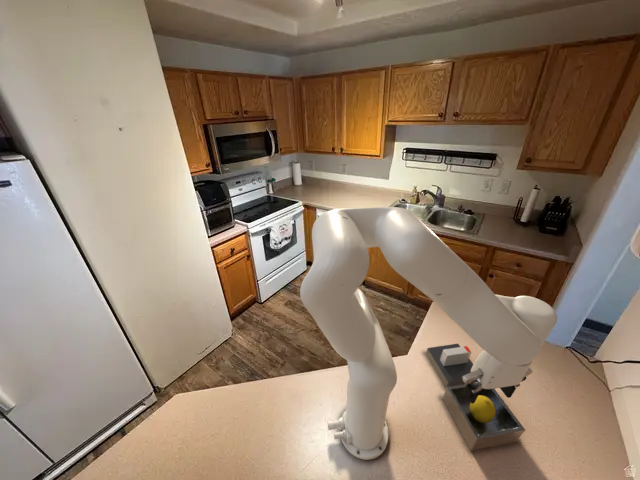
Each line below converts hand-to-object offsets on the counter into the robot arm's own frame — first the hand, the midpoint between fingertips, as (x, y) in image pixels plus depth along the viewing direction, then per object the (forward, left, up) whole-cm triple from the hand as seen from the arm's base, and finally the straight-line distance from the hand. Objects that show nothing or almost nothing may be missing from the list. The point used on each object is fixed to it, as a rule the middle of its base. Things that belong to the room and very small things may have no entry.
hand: (486, 394), depth 64 cm
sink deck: (+3, +15, -11) cm, 19 cm away
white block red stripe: (+3, +15, -8) cm, 17 cm away
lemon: (+1, 0, -11) cm, 11 cm away
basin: (+1, 0, -11) cm, 11 cm away
